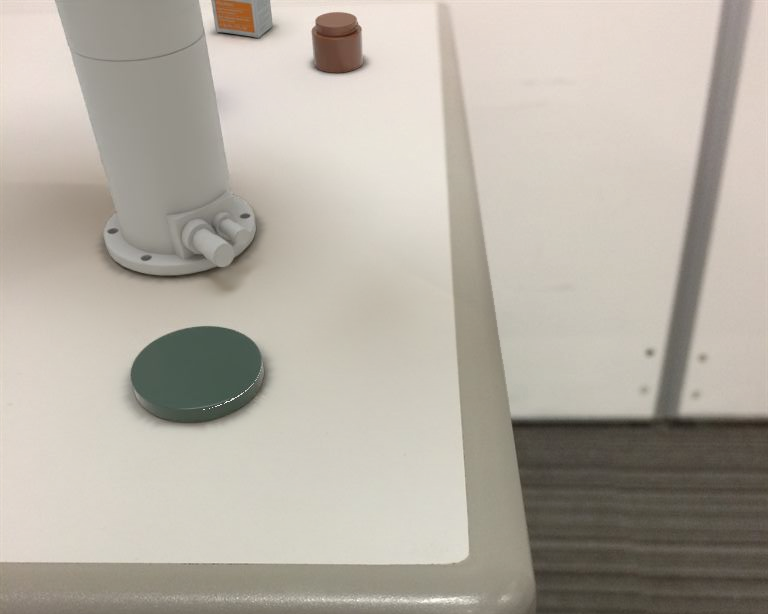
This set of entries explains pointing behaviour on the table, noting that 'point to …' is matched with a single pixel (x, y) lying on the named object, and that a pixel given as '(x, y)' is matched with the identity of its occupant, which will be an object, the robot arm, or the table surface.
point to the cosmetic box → (242, 16)
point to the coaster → (197, 373)
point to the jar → (337, 42)
